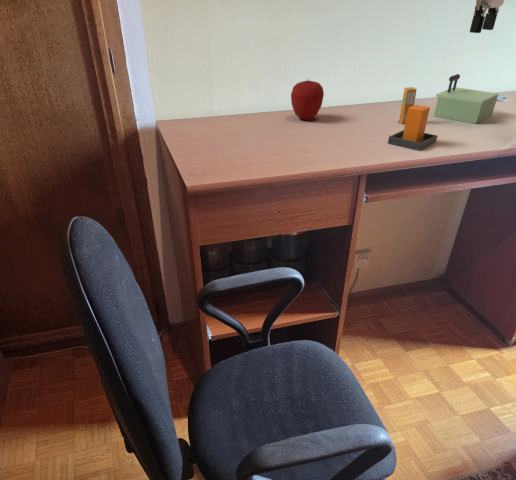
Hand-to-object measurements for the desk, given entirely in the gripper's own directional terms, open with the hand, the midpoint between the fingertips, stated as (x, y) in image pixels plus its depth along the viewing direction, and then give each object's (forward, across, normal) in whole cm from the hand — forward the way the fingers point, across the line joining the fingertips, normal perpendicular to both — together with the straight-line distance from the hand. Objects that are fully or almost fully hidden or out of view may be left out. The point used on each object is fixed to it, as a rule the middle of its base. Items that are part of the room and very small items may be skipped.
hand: (481, 31), depth 136 cm
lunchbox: (+24, +4, 0) cm, 25 cm away
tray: (+24, -35, -1) cm, 43 cm away
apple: (+24, -35, +38) cm, 57 cm away
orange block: (+24, -35, -1) cm, 42 cm away
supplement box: (+24, -17, +11) cm, 32 cm away
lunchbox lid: (+18, +4, 0) cm, 19 cm away
